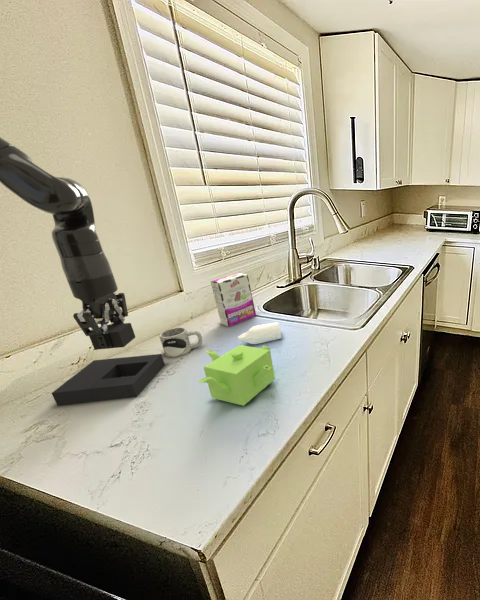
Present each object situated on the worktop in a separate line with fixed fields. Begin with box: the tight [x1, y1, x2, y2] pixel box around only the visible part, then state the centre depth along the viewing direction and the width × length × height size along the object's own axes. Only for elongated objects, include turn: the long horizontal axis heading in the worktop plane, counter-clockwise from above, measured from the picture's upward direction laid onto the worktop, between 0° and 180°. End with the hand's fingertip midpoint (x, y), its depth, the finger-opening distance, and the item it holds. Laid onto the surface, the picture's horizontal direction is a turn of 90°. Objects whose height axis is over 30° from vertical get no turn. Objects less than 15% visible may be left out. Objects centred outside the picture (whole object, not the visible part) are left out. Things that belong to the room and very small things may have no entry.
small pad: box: [88, 322, 136, 351], centre depth 77 cm, size 6×5×4 cm
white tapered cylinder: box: [236, 321, 282, 345], centre depth 101 cm, size 6×12×6 cm, turn 121°
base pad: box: [51, 353, 166, 407], centre depth 81 cm, size 16×14×4 cm
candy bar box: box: [210, 272, 257, 328], centre depth 114 cm, size 11×5×16 cm, turn 150°
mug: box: [158, 326, 204, 358], centre depth 96 cm, size 10×7×7 cm, turn 114°
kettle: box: [198, 344, 276, 407], centre depth 76 cm, size 15×14×11 cm
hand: (115, 341), depth 78 cm, fingers closed on small pad, 5 cm apart
